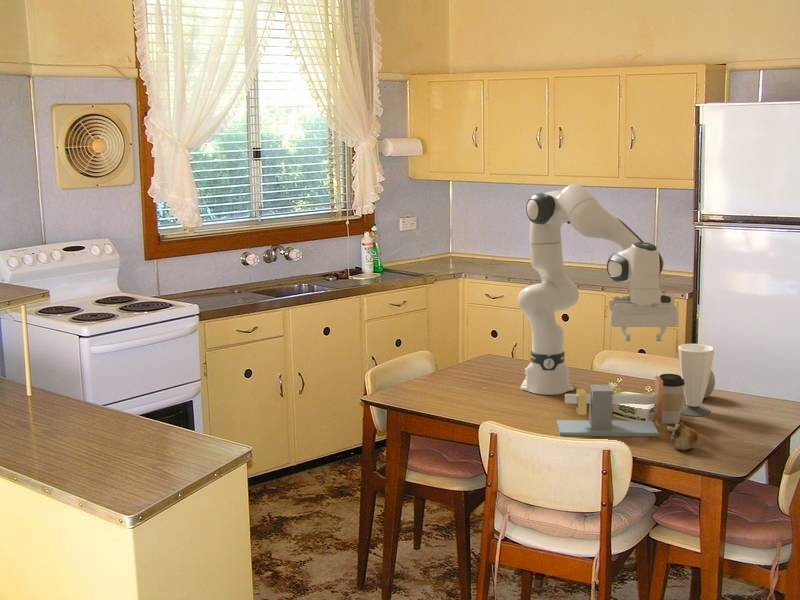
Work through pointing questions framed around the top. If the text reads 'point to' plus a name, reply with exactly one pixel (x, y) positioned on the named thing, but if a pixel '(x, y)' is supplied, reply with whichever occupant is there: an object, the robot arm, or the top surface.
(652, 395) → the shaft
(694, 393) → the cup
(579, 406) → the block
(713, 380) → the fruit
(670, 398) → the coffee cup
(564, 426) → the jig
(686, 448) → the onion
